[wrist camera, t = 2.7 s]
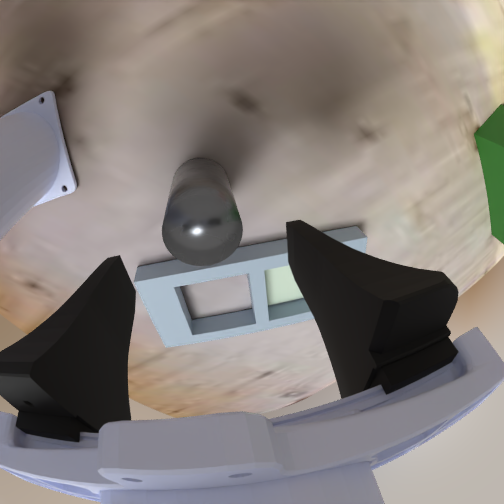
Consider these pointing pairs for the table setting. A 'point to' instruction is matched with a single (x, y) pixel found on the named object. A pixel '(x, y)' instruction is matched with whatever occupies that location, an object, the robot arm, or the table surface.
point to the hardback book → (493, 167)
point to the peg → (201, 215)
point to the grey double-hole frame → (240, 262)
